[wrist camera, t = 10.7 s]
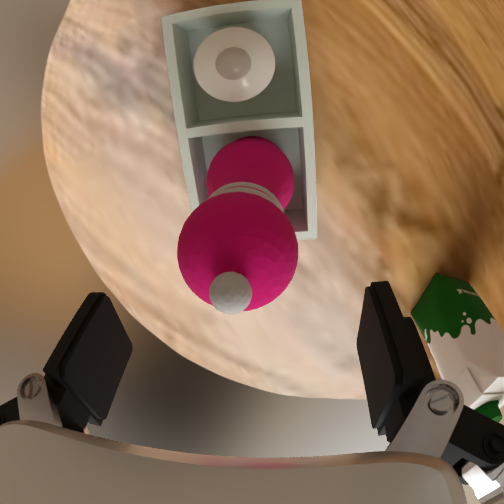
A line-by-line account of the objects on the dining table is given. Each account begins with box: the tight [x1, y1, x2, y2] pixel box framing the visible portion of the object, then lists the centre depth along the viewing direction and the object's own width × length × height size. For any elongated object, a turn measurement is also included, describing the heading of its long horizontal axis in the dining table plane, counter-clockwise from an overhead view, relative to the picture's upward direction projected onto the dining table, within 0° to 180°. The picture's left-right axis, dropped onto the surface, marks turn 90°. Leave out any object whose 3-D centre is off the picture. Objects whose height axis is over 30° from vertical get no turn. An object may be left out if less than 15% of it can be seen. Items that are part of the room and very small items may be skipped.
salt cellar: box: [194, 27, 275, 102], centre depth 21 cm, size 6×6×8 cm
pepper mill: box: [177, 136, 298, 314], centre depth 21 cm, size 7×7×20 cm
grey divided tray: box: [161, 0, 317, 240], centre depth 25 cm, size 20×11×6 cm, turn 6°
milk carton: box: [411, 273, 504, 423], centre depth 29 cm, size 9×9×20 cm
